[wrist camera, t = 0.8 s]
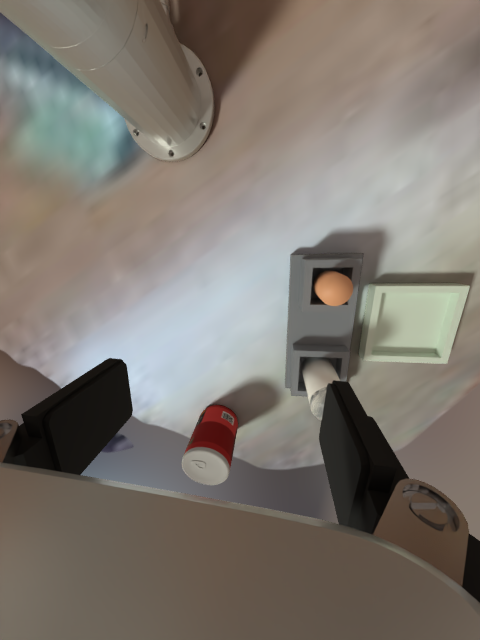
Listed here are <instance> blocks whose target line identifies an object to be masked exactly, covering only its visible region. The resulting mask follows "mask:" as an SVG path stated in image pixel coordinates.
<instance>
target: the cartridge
mask: <svg viewBox="0 0 480 640" xmlns="http://www.w3.org/2000/svg"><path fill="white" fill-rule="evenodd" d="M301 369H302V374H303V378H304V382H305V386H306V390H307V394H308V398H309V402H310V407H311V411H312V413H313V415H314V416H315V417H316V418H317V419H319V420H321V421H322V415H323V409H324V403H325V397H326V390H327V385H328V383H331V384H332V382H333V380H335V381H340V379H339V377H338V375H337V373H336V371H335V369H334V367H333V365H332V363H331V361H330V360H329V359H328V358H327V357H306V358H305V359H304V361H303V362H302V365H301Z"/></svg>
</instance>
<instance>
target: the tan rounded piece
mask: <svg viewBox="0 0 480 640" xmlns="http://www.w3.org/2000/svg"><path fill="white" fill-rule="evenodd" d="M313 288H314V291H315V293H316V294H317V296H318V297H319V298H320V299H321V300H322V301H323V302H324V303H325V304H327V305H330V306H339V305H342V304H344V303H345V302H347V301H348V300H349V299H350V297H351V295H352V293H353V284H352V282H351V280H350V279H349V278H348V277H347V276H345V275H343V274H340V273H338V272H336V271H332V270H327V271H324V272H322V273H320V274H319V275H318V276H317V277H316V278H315V280H314V284H313Z"/></svg>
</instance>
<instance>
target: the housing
mask: <svg viewBox="0 0 480 640" xmlns="http://www.w3.org/2000/svg"><path fill="white" fill-rule="evenodd" d="M362 261H363V253H346V254H300V255H291V257H290V280H289V303H288V327H287V350H286V373H285V388H290V389H291V396H306V397H308V394H307V390H306V386H305V382H304V378H303V374H302V369H301V365H302V362H303V361H304V359H305V358H306V357H327V358H328V359H329V360H330V361H331V363H332V365H333V367H334V369H335V371H336V373H337V375H338V377H339V379H340V381H346V379H347V372H348V365H349V358H350V345H351V338H352V331H353V324H354V317H355V310H356V303H357V296H358V289H359V282H360V275H361V268H362ZM327 270H332V271H336V272H338V273H340V274H343V275H345V276H347V277H348V278H349V279H350V280H351V282H352V284H353V293H352V295H351V297H350V299H349V300H348V301H347V302H345V303H344V304H342V305H339V306H330V305H327V304H325V303H324V302H323V301H322V300H321V299H320V298H319V297H318V296H317V294H316V293H315V291H314V288H313V284H314V280H315V278H316V277H317V276H318V275H319V274H320V273H322V272H324V271H327Z"/></svg>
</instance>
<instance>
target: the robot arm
mask: <svg viewBox="0 0 480 640" xmlns="http://www.w3.org/2000/svg"><path fill="white" fill-rule="evenodd" d="M0 12H1V13H2V14H3V15H4V16H6V17H7V18H8V19H9V20H10V21H12V22H13V23H14V24H15V25H16V26H18V27H19V28H20V29H21V30H22V31H24V32H25V33H26V34H27V35H28V36H30V37H31V38H32V39H33V40H34V41H35V42H37V43H38V44H39V45H40V46H41V47H42V48H44V49H45V50H46V51H47V52H48V53H49V54H51V55H52V56H53V57H54V58H55V59H56V60H57V61H58V62H60V63H61V64H62V65H63V66H64V67H65V68H66V69H68V70H69V71H70V72H71V73H72V74H73V75H75V76H76V77H77V78H78V79H79V80H80V81H82V82H83V83H84V84H85V85H86V86H87V87H89V88H90V89H91V90H92V91H93V92H94V93H96V94H97V95H98V96H99V97H100V98H101V99H103V100H104V101H105V102H106V103H107V104H108V105H110V106H111V107H112V108H113V109H114V110H115V111H117V112H118V113H119V114H120V115H121V116H122V117H123V118H125V122H126V124H127V127H128V129H129V131H130V133H131V135H132V137H133V139H134V140H135V141H136V142H137V144H138V145H139V146H140V147H141V148H142V149H143V150H144V151H145V152H147V153H148V154H149V155H151V156H152V157H154V158H156V159H159V160H161V161H165V162H178V161H182V160H185V159H187V158H189V157H191V156H192V155H194V154H195V153H196V152H197V151H198V150H199V149H200V148H201V147H202V145H203V144H204V143H205V141H206V139H207V137H208V135H209V133H210V130H211V127H212V123H213V118H214V95H213V89H212V86H211V82H210V79H209V77H208V74H207V72H206V69H205V68H204V66H203V64H202V62H201V61H200V59H199V58H198V57H197V56H196V55H195V53H194V52H193V51H191V50H190V49H189V48H187V47H186V46H185V45H183V44H180V43H179V41H178V39H177V37H176V34H175V32H174V27H173V25H172V24H171V22H170V17H169V15H170V7H169V0H0ZM200 75H201V76H200ZM204 127H206V128H205V129H204V130H203V128H204ZM173 154H174V156H173V157H172V155H173ZM132 411H133V408H132V401H131V394H130V387H129V380H128V373H127V366H126V364H125V363H124V362H123V360H121V359H112V358H109V359H107V360H105V361H104V362H102V363H101V364H99V365H98V366H96V367H94V368H93V369H91V370H90V371H88V372H87V373H85V374H84V375H82V376H80V377H79V378H77V379H76V380H74V381H73V382H71V383H70V384H68V385H66V386H65V387H63V388H62V389H60V390H59V391H57V392H56V393H54V394H52V395H51V396H49V397H48V398H46V399H45V400H43V401H42V402H40V403H38V404H37V405H35V406H34V407H32V408H31V409H29V410H28V411H26V412H24V413H23V414H21V415H22V418H23V421H24V423H23V424H21V425H20V426H19V425H18V423H17V422H16V421H14V420H1V421H0V640H480V541H479V540H477V539H476V538H475V537H473V536H472V535H470V534H469V529H468V523H467V521H466V519H465V517H464V515H463V513H462V512H461V511H460V509H459V508H458V507H457V506H456V504H455V503H454V502H453V501H452V500H451V499H449V498H448V497H447V496H446V495H445V494H444V493H442V492H441V491H439V490H438V489H436V488H435V487H433V486H431V485H429V484H427V483H425V482H422V481H419V480H416V479H409V477H408V476H407V474H406V472H405V471H404V469H403V467H402V466H401V464H400V462H399V460H398V459H397V457H396V455H395V454H394V452H393V450H392V449H391V447H390V445H389V444H388V442H387V440H386V439H385V437H384V435H383V434H382V432H381V430H380V428H379V427H378V425H377V423H376V422H375V420H374V419H373V418H372V417H369V416H367V414H366V412H365V411H364V409H363V407H362V405H361V404H360V402H359V400H358V398H357V397H356V395H355V393H354V391H353V389H352V388H351V386H350V384H349V383H348V382H346V381H335V380H333V382H332V384H331V383H328V385H327V390H326V397H325V403H324V409H323V415H322V421H321V427H320V434H319V441H320V446H321V450H322V455H323V459H324V463H325V467H326V471H327V475H328V480H329V484H330V488H331V493H332V496H333V501H334V505H335V509H336V514H337V518H338V522H339V524H336V523H332V522H328V521H324V520H320V519H315V518H310V517H305V516H301V515H295V514H291V513H286V512H281V511H276V510H270V509H266V508H261V507H254V506H250V505H244V504H239V503H233V502H227V501H222V500H217V499H212V498H206V497H201V496H195V495H190V494H184V493H178V492H173V491H168V490H162V489H156V488H151V487H145V486H139V485H134V484H128V483H122V482H117V481H111V480H105V479H99V478H93V477H87V476H81V475H80V474H81V473H82V472H83V471H84V470H85V469H86V468H87V466H88V465H89V464H90V463H91V462H92V461H93V460H94V458H95V457H96V456H97V455H98V454H99V453H100V452H101V450H102V449H103V448H104V447H105V446H106V445H107V444H108V442H109V441H110V440H111V439H112V438H113V437H114V436H115V434H116V433H117V432H118V431H119V430H120V428H121V427H122V426H123V425H124V424H125V423H126V421H128V419H129V418H130V417H131V415H132Z"/></svg>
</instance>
